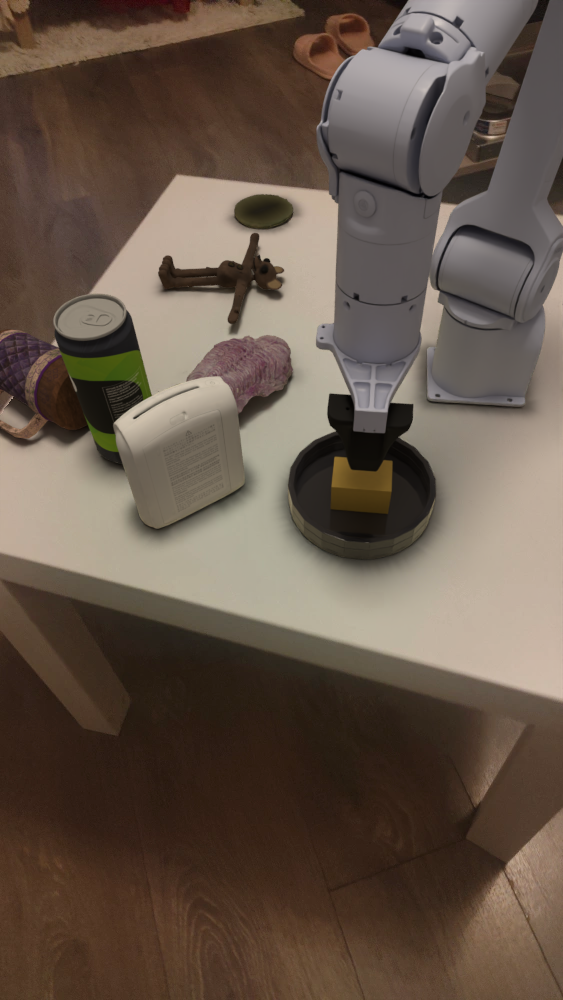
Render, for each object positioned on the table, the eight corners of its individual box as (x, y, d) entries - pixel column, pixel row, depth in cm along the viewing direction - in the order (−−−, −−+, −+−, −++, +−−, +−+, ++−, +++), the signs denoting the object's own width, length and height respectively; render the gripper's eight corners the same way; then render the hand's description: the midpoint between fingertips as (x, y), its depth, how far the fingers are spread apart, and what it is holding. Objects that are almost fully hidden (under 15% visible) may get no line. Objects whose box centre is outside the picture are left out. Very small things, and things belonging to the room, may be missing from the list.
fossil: (166, 415, 66) (156, 375, 62) (252, 340, 73) (248, 300, 69) (229, 448, 63) (222, 408, 59) (313, 367, 70) (312, 326, 66)
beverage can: (170, 424, 65) (139, 294, 53) (151, 472, 61) (113, 343, 49) (111, 417, 66) (67, 288, 54) (88, 464, 62) (36, 336, 50)
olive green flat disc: (283, 227, 85) (283, 232, 86) (300, 198, 90) (300, 203, 91) (225, 219, 87) (226, 224, 88) (245, 190, 92) (246, 196, 92)
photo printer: (229, 456, 62) (214, 354, 53) (253, 485, 60) (242, 383, 50) (131, 506, 59) (96, 406, 49) (152, 538, 57) (120, 441, 47)
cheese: (389, 483, 59) (392, 460, 57) (388, 514, 57) (391, 491, 55) (333, 479, 60) (334, 456, 57) (330, 509, 58) (331, 486, 55)
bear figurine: (176, 220, 83) (289, 212, 80) (184, 251, 86) (293, 245, 84) (140, 306, 72) (269, 301, 70) (151, 338, 76) (275, 334, 73)
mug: (122, 380, 66) (43, 342, 71) (79, 348, 59) (-5, 308, 64) (70, 469, 65) (-5, 424, 70) (21, 446, 59) (-59, 398, 64)
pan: (430, 452, 62) (434, 433, 60) (432, 566, 54) (437, 548, 52) (297, 443, 63) (297, 424, 61) (281, 552, 56) (279, 535, 54)
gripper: (327, 214, 46) (323, 365, 56) (305, 350, 37) (306, 498, 48) (430, 218, 45) (406, 370, 56) (433, 357, 36) (404, 506, 47)
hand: (366, 430), depth 52 cm, fingers open, 7 cm apart
